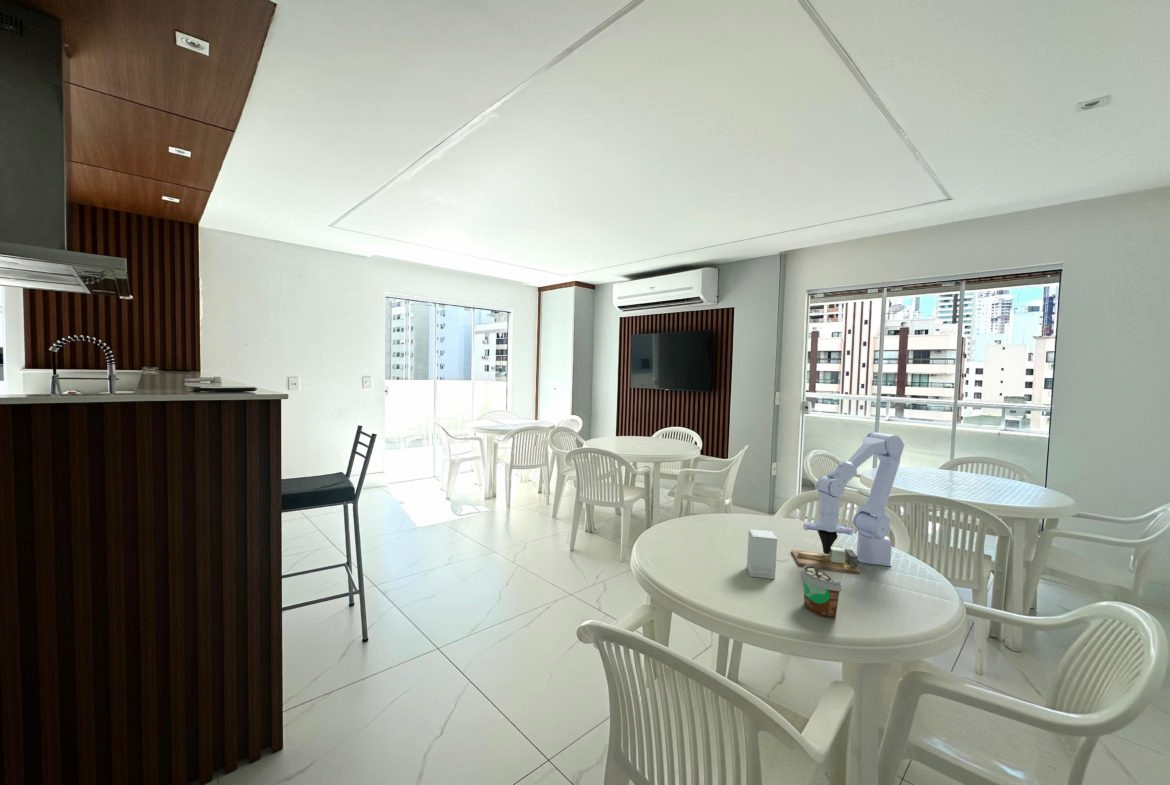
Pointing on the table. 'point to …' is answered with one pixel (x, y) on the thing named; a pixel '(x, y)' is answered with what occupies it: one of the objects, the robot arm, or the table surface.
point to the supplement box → (761, 554)
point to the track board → (827, 561)
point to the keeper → (837, 554)
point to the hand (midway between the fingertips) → (825, 552)
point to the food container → (820, 592)
